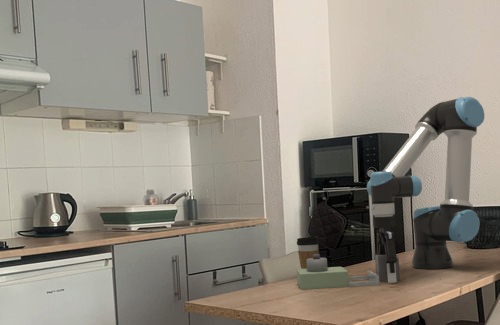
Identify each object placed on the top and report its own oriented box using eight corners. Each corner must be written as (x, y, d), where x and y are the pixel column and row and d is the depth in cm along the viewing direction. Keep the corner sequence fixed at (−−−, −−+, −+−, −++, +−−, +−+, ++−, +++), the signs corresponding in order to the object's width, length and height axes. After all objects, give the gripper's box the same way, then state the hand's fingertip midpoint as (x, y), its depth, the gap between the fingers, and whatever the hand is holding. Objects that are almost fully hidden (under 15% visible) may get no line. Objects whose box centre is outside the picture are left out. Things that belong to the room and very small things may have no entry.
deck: (342, 280, 199) (340, 250, 200) (349, 286, 187) (346, 254, 188) (297, 283, 199) (295, 253, 199) (301, 289, 187) (299, 257, 187)
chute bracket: (370, 278, 200) (370, 270, 200) (379, 284, 187) (379, 275, 187) (342, 280, 200) (341, 272, 200) (349, 286, 187) (348, 277, 187)
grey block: (396, 279, 197) (394, 253, 197) (400, 281, 192) (398, 255, 193) (376, 280, 196) (374, 255, 197) (379, 282, 192) (378, 256, 192)
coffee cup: (320, 278, 207) (317, 237, 208) (297, 279, 209) (294, 238, 209) (322, 274, 215) (319, 235, 216) (300, 275, 217) (297, 236, 218)
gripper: (365, 215, 207) (369, 275, 206) (381, 217, 184) (385, 286, 183) (385, 213, 207) (390, 274, 206) (403, 216, 184) (408, 284, 183)
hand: (388, 279), depth 194 cm, fingers open, 10 cm apart
